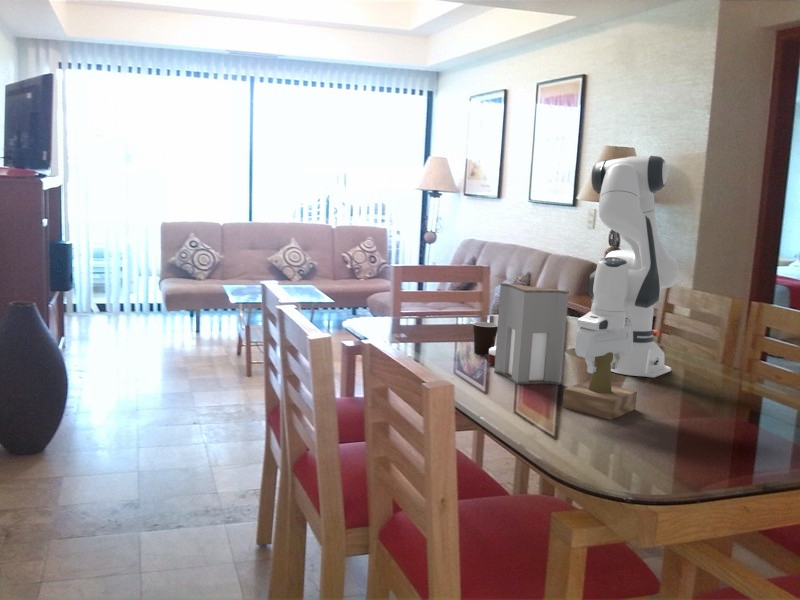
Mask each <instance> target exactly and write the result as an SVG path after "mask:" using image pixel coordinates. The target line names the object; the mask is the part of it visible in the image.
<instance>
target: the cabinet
mask: <svg viewBox="0 0 800 600" xmlns="http://www.w3.org/2000/svg"><path fill="white" fill-rule="evenodd" d="M569 293H570V292H569V290H563V289H554V288H546V287H539V286H530V285H521V284H514V283H506V282H505V283H504V282H503V283H500V288H499V300H498V301H499V302H498V303H499V304H498V316H497V325H498V328H497V335H496V340H495V346H496V355H495V365H494V370H493V373H494V374H500V375H502V376H504V377H506V378H507V379H509V380H510V381H512V382H513V383H515V384H516V385H534V384H535V385H537V384H553V385H558V386H559V385H561V384H562V375H563V374H562V372H563V363H564V362H563V361H564V351H565V349H564V348H565V339H566V338H565V337H566V327H567V316H568V307H569V306H568V305H569Z"/></svg>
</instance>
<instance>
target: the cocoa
mask: <svg viewBox="0 0 800 600" xmlns="http://www.w3.org/2000/svg"><path fill="white" fill-rule="evenodd" d="M495 355H496V345H494V347H491V348H490V349H489V353H488V355H485V356H486V357H485V359H486V361H487V363H489V364H491V365H492V366H495Z"/></svg>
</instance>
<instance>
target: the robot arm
mask: <svg viewBox="0 0 800 600" xmlns="http://www.w3.org/2000/svg"><path fill="white" fill-rule="evenodd" d="M668 176H669V169H668V166H667V164H666V160H665V159H664V158H663V157H662V156H657V155H650V156H641V155H639V156H637V155H635V156H634V155H633V156H632V155H631V156H627V157H620V158H613V159H609V160H608V159H603V160H599V161H597V162H596V163H595V164H594V165H593V166H592V169H591V173H590V182H591V186H592V189H593V191H594V192H595V193H597V195H599V200H598V201H599V202H598V214H599V215H598V216H599V218H600V221H601V222H602V223H603V225H605V226H606V227H607V228H608V229H610V230H612V232H613V231H614V232H615V233H617V234H619V236H620V237H621V239H622V240H624V242H625V243H627V245H629V246H630V248H631V249H617V250H612V251H609V252H608V253H607V254H606V256H605V257H603V258H600V259H599V260H598V262H597V265H596V269H595V270H594V271H593V272H591V274H589V289H588V294H589V296H590V297H592V298H593V300H592V304H591V310H590V311H588V312H587V313H586V314H584V315H582V316H581V317H579V318H578V319H577V322H576V323H577V324H576V325H577V327H579V328H578V329H577V332H576V336H575V345H574V349H575V350H574V352H575V355H576V357H580V358H584V361H585V364H586V366H587V368H586V372H587V373H588V374H592V373H595V372H596V366H594V363H595V357H598V356H604V355H606V354H607V353H609V352H612V353H613V361H612V362H611V373H612V372H613V373H616V374H620V375H626V376H634V377H635V376H636V377H647V378H656V377H659V376H662V375H664V374H667V373H669V372H671V371H672V367H670V366H669V365H665V358H666V357H665V352H664V350H663V349H661V348H660V347H659V345H658V344H657V343H656V342H655V337H658V336H659V335H660V331H659V330H658V329H656V330H655V329H652V328H653V320H654V319H653V318H654V312H655V311H654V305H655V304H656V303H657V302H659V300H660V298H661V293H662V289H669V288H671V287H672V286H674V285H675V284H676V282H677V281H678V278H679V276H680V275H679V274H680V268H679V267H680V266H679V264H678V262H677V260H676V259H675V258H674V257H672V256H671V255H670V254H669V252H668V251H667V250H666V249H665V247H664V246H663V244H662V241H661V240H660V236H659V234H658V229H657V219H656V205H655V195H654V194H656V193H657V192H659V191H661V190H662V189H663V188H664V187H665V186H666V183H667V182H668Z"/></svg>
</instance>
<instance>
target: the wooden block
mask: <svg viewBox="0 0 800 600" xmlns="http://www.w3.org/2000/svg"><path fill="white" fill-rule="evenodd" d="M590 380H591V379H590ZM590 380H588V381H587V380H586V381H583V382H581V383H577V384H574V385H571V386H568V387H566V388H563V397H562V407H563V408H566V409H570V410H573V411H576V412H577V411H578V412H581V413H585V414H588V415H591V416H596V417H599V418H603V419H607V420H610V421H611V420H614V419H615V418H618V417H621V416H624V415H625V414H627V413H630V412H633V411H635V410H636V405H637V398H638V396H637V395H638V391H636V390H632V389H628V388H624V387H619V386H615V385H612V384H611V389H612V392H611V393H597V392H593V391H590V390H589V384H590Z"/></svg>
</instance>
